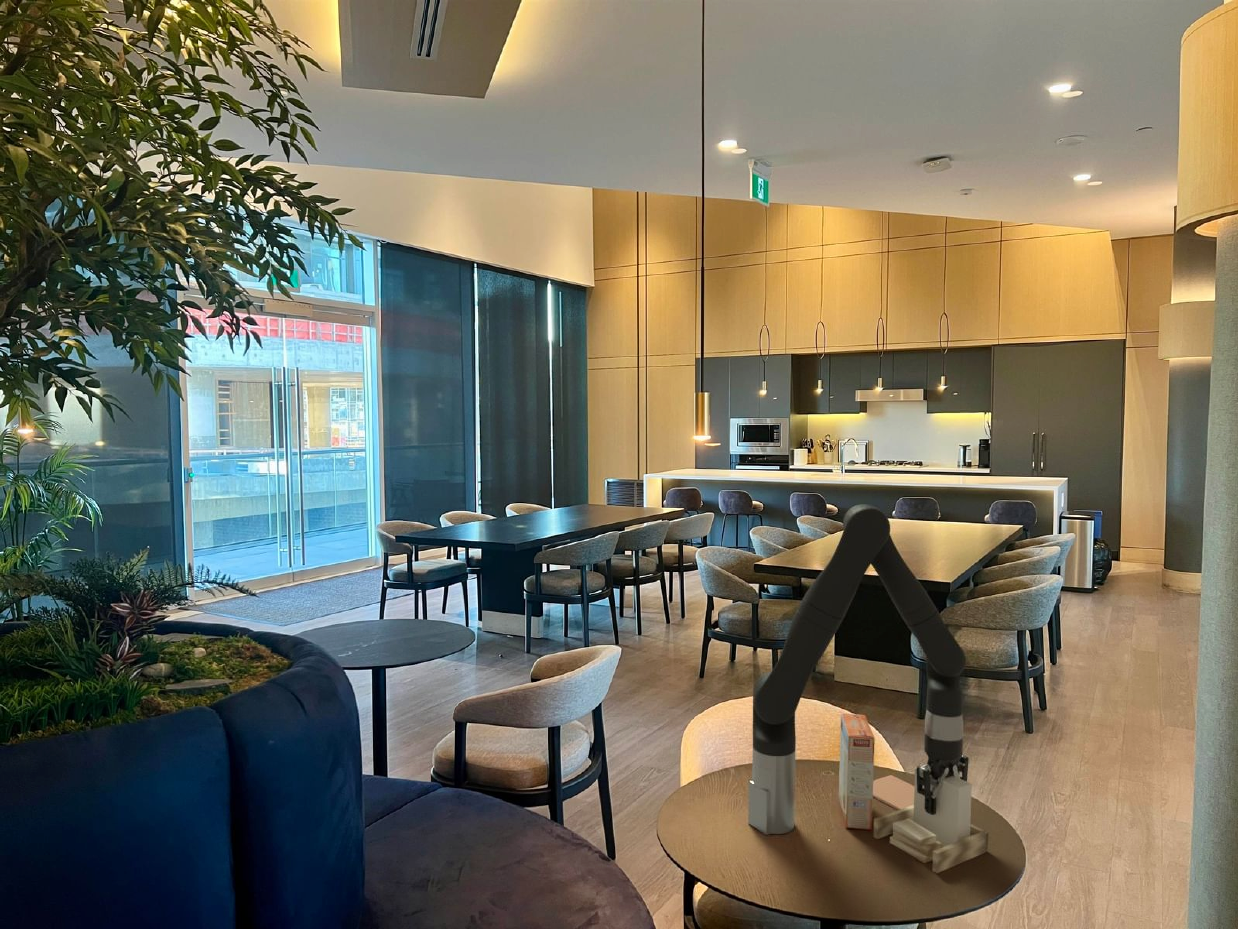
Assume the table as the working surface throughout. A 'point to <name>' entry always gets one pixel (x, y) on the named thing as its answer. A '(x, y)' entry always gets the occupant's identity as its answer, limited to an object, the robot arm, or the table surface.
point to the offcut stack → (914, 840)
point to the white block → (946, 810)
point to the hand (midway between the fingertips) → (941, 808)
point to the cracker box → (856, 771)
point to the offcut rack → (946, 854)
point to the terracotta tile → (893, 792)
